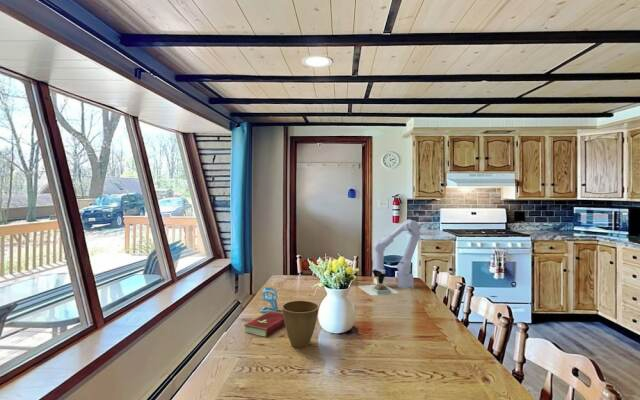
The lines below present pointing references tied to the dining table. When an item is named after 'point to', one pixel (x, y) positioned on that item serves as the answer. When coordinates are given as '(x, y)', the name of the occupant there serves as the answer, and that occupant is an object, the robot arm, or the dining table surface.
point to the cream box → (377, 281)
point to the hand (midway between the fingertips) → (378, 282)
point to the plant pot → (300, 321)
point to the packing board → (372, 291)
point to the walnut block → (380, 287)
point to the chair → (270, 300)
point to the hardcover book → (265, 324)
